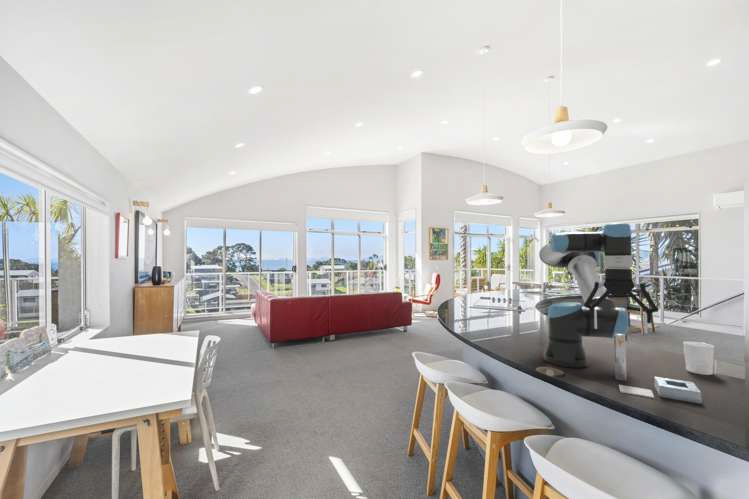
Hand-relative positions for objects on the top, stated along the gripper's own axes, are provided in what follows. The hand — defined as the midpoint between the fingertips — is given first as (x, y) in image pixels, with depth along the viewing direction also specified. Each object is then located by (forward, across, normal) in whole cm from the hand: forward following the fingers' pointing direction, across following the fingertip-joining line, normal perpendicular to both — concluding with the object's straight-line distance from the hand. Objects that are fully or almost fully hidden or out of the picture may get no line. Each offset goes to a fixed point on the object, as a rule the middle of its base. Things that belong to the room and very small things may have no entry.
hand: (619, 330), depth 111 cm
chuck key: (+16, 0, 0) cm, 16 cm away
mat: (+16, +3, -11) cm, 20 cm away
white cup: (+17, +24, +24) cm, 38 cm away
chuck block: (+16, +13, -7) cm, 22 cm away
